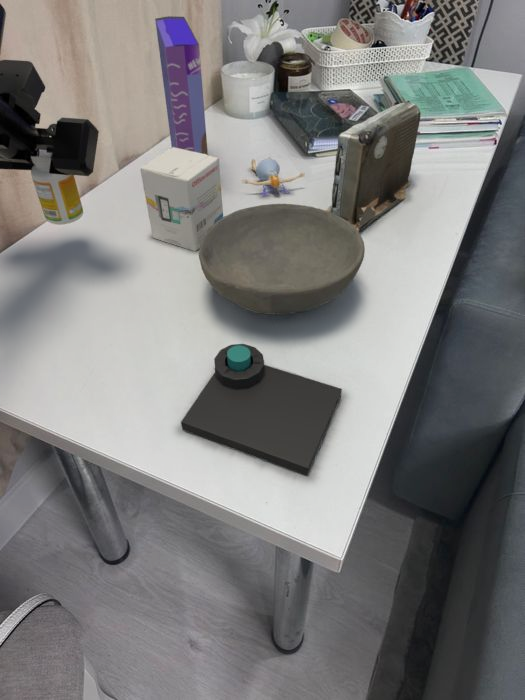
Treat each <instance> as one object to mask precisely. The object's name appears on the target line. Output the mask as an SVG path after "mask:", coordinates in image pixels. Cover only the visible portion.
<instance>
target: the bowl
mask: <svg viewBox="0 0 525 700" xmlns="http://www.w3.org/2000/svg"><path fill="white" fill-rule="evenodd" d="M365 253H366V249H365V241H364V240H363V237H362V235H361V234H360V231H358V230H357V229H356V228H355V227H354V226H353V225H352V224H351V223H349V222H348V221H346V220H345V219H343V218H341V217H339V216H337V215H335V214H332V213H330V212H328V211H326V210H324V209H321V208H317V207H314V206H309V205H303V204H296V203H295V204H294V203H270V204H269V203H268V204H261V205H255V206H248V207H246V208H245V207H244V208H242V209H238V210H236V211H235V210H234V211H233V212H231V213H229V214H227V215H225V216H223V218H222V219H220V220H219V221H218V222H216V223H215V224H214V225H213V226H212V227H211V228H210V229H209V230H208V231H207V233H206V234H205V236H204V238H203V240H202V242H201V245H200V248H199V249H198V260H199V263H200V267H201V270H202V272H203V275H204V277H205V278H206V280H207V281H208V283H209V284H210V286H211V287H212V288H213V290H215V292H216V293H218V294H220V295H221V296H222V297H223V298H225V299H226V300H228V301H229V302H231V303H233V304H235V305H237V306H239V307H241V308H243V309H246V310H248V311H251V312H255V313H258V314H263V315H287V314H289V315H290V314H296V313H303V312H306V311H309V310H313V309H316V308H319V307H320V306H322V305H324V304H326V303H328V302H330V301H332V300H333V299H335V298H336V297H338V296H339V295H340V294H342V293H343V292H344V291H345V290H346V289H347V288H348V287H349V286H350V284H351V283H352V282H353V280H354V279H355V277H356V276H357V273H358V272H359V270H360V268H361V266H362V263H363V261H364V259H365Z"/></svg>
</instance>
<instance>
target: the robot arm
mask: <svg viewBox="0 0 525 700" xmlns="http://www.w3.org/2000/svg"><path fill="white" fill-rule="evenodd" d="M6 17H7V12H6V9H5V7H4V6H3V5H2V4H1V3H0V54H1V52H2V46H3V39H4V31H5V23H6ZM45 91H46V85H45V83H44V81H43V80H42V78H41V76H40V74H39V73H38V70H37V69H36V67H35V66H34V64H33V62H32V61H29V60H20V59H19V60H18V59H17V60H16V59H0V170H14V171H15V170H16V171H31V169H32V167H33V166H34V165H35V164H34V163H33V162H32V159H31V157H35V158H37V157H39V153H40V151H39V149H42V150H47V151H46V153H47V154H49V155H52V156H51V157H50V158H51V163H50V170H49V173H50V174H60V175H74V176H81V177H89V176H91V174H93V173H94V167H95V162H96V161H95V160H96V154H97V146H98V140H99V134H100V131H99V130H98V128H97V127H96V126H95V125H94V124H93V122H91V121H90V119H88V118H74V117H60V118H59V119H58V120H56V123H51V124H50V125H48V127H47V128H44V127H36V125H39V124H40V122H41V116H42V115H41V113H40V112H39V111H38V110H37V109H36V107H37V105H38V103H39V101H40V100H41V97H42V94H43V93H45ZM36 149H37V150H36Z"/></svg>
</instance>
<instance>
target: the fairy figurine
mask: <svg viewBox="0 0 525 700" xmlns="http://www.w3.org/2000/svg"><path fill="white" fill-rule="evenodd" d="M251 169H252V171H254V172H255V175H256V176H257V178H258V179H259V180H260V181H249V180H248V179H246V178H243V179H242V183H243V184H248V185H253V186H262V189H263V190H262V191H263V192H262V194H261V197H262V198H265V197H266V196H267V195H269V193H270V192H271V190H273V188H274V189H276V188H279V190H281V191H282V192H283V193H284V194H286V195H289V194H291V193H290V191H288V190H287V188H286V186H285V185H284V183H291V182H293V181H296V180H297V179H299V178H303V177H305V172H303V171H302V172H301V173H299V175H296V176H294V177H291V178H279V174H280V169H281V168H280V164H279V162H278V161H277V160H275V159H273V158H271V157H270V156H269V157H267V158H264V159H262V160H261V161H260V162H258V164H257V165H256V159H255V158H252V159H251ZM270 187H271V188H270ZM281 187H282V188H281Z"/></svg>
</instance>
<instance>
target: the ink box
mask: <svg viewBox="0 0 525 700" xmlns="http://www.w3.org/2000/svg"><path fill="white" fill-rule="evenodd" d="M139 170H140V175H141V181H142V187H143V191H144V197H145V203H146V208H147V214H148V218H149V224H150V225H149V226H150V230H151V236H152V238H153V239H157V240H159V241H161V242H165V243H168V244H171V245H174V246H177V247H180V248H184V249H187V250H190V251H192V252H197V251H199V249H200V245H201V242H202V240H203V238H204V236H205V234H206V233H207V231H208V230H209V229H210V228H211V227H212V226H213V225H214V224H215V223H216V222H218V221H219V220H220V219H222V218H223V217H224V209H223V197H222V196H223V195H222V185H221V184H222V183H221V171H220V170H221V169H220V158H219V156H214V155H210V154H208V155H206V154H202V153H198V152H193V151H189V150H185V149H180V148H176V147H172V146H171V148H169V149H167V150H166V151H164V152H162V153H161V154H159V155H158V156H156V157H155V158H153V159H152V160H150V161H149V162H147V163H145V164H144V165H143V166H141V167H140V169H139Z"/></svg>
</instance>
